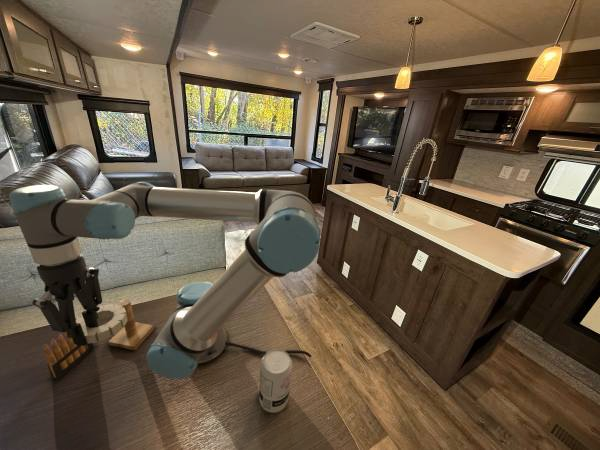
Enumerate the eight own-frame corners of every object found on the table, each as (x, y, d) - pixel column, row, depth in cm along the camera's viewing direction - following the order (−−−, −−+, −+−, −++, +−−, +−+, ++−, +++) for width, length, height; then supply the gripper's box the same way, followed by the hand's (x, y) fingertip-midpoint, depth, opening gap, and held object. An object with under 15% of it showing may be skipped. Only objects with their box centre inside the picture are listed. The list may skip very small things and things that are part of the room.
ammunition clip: (57, 379, 68) (43, 348, 63) (51, 377, 68) (37, 346, 63) (94, 347, 77) (84, 318, 73) (89, 346, 78) (79, 317, 73)
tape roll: (137, 317, 70) (135, 310, 69) (96, 349, 60) (93, 341, 59) (106, 307, 72) (104, 299, 71) (63, 335, 62) (60, 327, 61)
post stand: (154, 328, 86) (147, 295, 80) (134, 350, 78) (126, 315, 72) (130, 324, 87) (122, 291, 81) (109, 345, 79) (98, 309, 73)
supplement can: (261, 382, 72) (263, 345, 66) (289, 385, 72) (293, 348, 66) (256, 412, 65) (257, 374, 59) (287, 415, 65) (291, 377, 59)
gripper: (78, 239, 61) (101, 313, 70) (-3, 277, 46) (39, 364, 55) (107, 243, 60) (126, 316, 69) (34, 282, 45) (70, 369, 55)
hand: (87, 337), depth 62 cm, fingers closed on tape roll, 3 cm apart
